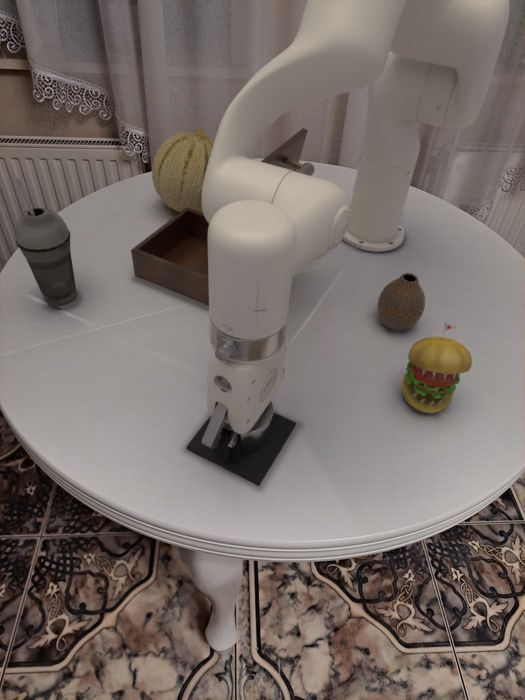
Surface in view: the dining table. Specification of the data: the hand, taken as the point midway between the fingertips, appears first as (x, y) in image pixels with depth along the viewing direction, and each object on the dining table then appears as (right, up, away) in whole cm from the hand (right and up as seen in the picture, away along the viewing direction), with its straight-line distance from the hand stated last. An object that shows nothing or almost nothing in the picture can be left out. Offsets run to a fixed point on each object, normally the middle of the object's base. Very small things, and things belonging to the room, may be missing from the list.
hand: (242, 432), depth 63 cm
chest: (-7, +23, +24) cm, 34 cm away
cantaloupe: (-11, +38, +38) cm, 55 cm away
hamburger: (+24, +3, +7) cm, 26 cm away
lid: (+2, +30, +10) cm, 32 cm away
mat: (0, -1, +1) cm, 1 cm away
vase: (+23, +14, +18) cm, 33 cm away
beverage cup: (-29, +18, +17) cm, 38 cm away
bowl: (0, 0, 0) cm, 0 cm away
